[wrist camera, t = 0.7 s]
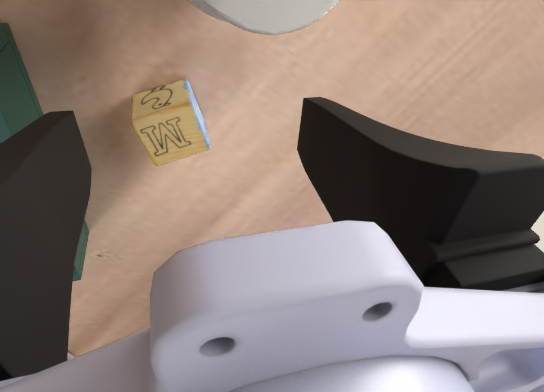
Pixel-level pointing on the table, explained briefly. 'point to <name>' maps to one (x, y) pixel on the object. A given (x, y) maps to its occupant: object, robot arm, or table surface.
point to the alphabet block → (169, 122)
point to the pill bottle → (267, 13)
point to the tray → (24, 112)
